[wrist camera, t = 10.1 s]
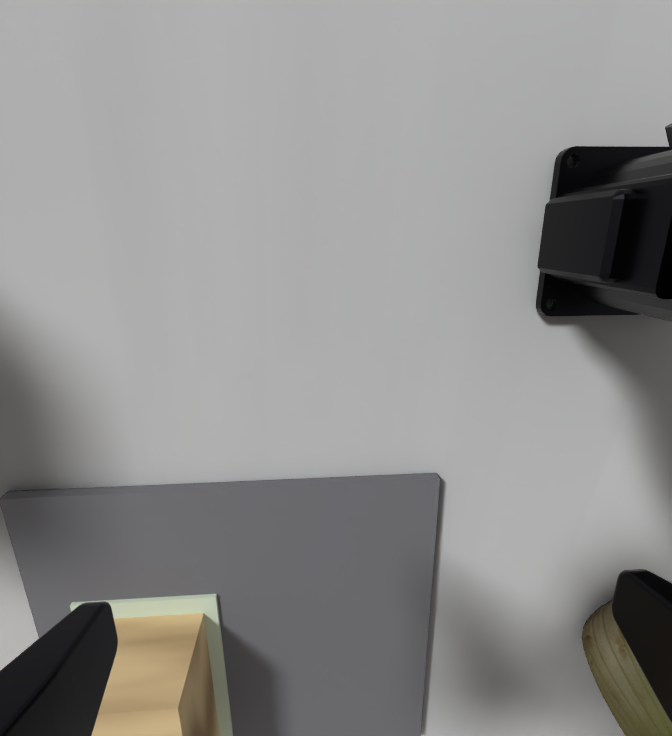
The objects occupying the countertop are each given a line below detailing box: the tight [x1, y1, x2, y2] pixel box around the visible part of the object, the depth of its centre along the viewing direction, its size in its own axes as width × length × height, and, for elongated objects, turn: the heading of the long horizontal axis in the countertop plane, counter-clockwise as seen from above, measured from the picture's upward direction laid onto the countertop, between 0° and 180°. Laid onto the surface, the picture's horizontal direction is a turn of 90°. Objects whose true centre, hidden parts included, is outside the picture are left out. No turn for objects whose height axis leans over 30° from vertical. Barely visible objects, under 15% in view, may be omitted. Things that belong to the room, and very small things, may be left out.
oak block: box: [91, 613, 220, 736], centre depth 20 cm, size 9×6×4 cm, turn 1°
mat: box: [0, 473, 440, 736], centre depth 22 cm, size 20×18×1 cm
